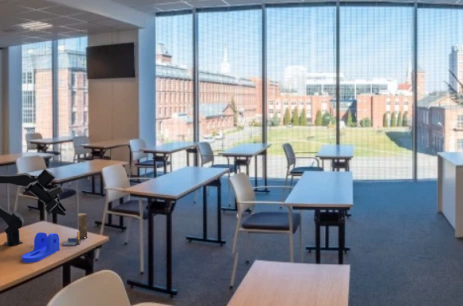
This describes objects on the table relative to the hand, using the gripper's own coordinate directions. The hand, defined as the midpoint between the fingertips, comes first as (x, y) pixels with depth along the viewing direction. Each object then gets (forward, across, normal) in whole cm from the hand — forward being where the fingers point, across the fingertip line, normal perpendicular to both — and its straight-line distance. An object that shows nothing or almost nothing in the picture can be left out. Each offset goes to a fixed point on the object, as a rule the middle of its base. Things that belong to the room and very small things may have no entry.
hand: (65, 212), depth 228 cm
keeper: (+11, -10, +8) cm, 17 cm away
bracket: (+2, -23, +18) cm, 29 cm away
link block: (+15, 0, +4) cm, 16 cm away
